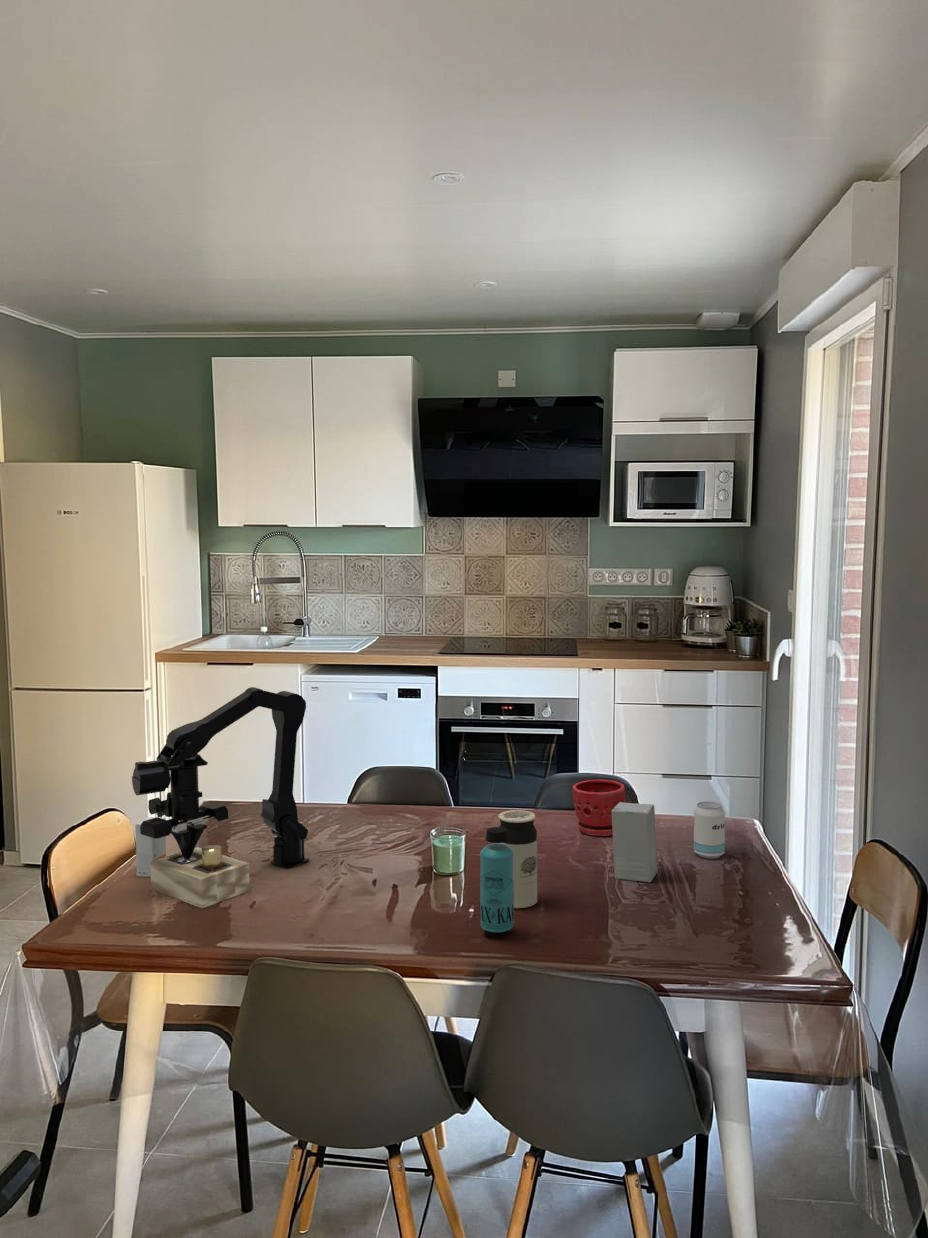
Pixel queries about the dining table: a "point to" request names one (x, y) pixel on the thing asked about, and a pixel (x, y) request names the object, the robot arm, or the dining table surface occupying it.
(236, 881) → the collar block
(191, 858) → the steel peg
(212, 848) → the brass peg
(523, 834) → the travel mug
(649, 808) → the skincare box
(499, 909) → the beverage bottle
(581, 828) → the plant pot
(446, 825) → the dining table surface
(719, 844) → the beverage can
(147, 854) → the skincare box
